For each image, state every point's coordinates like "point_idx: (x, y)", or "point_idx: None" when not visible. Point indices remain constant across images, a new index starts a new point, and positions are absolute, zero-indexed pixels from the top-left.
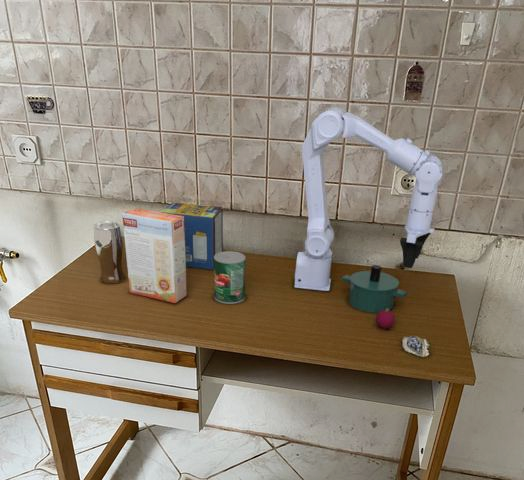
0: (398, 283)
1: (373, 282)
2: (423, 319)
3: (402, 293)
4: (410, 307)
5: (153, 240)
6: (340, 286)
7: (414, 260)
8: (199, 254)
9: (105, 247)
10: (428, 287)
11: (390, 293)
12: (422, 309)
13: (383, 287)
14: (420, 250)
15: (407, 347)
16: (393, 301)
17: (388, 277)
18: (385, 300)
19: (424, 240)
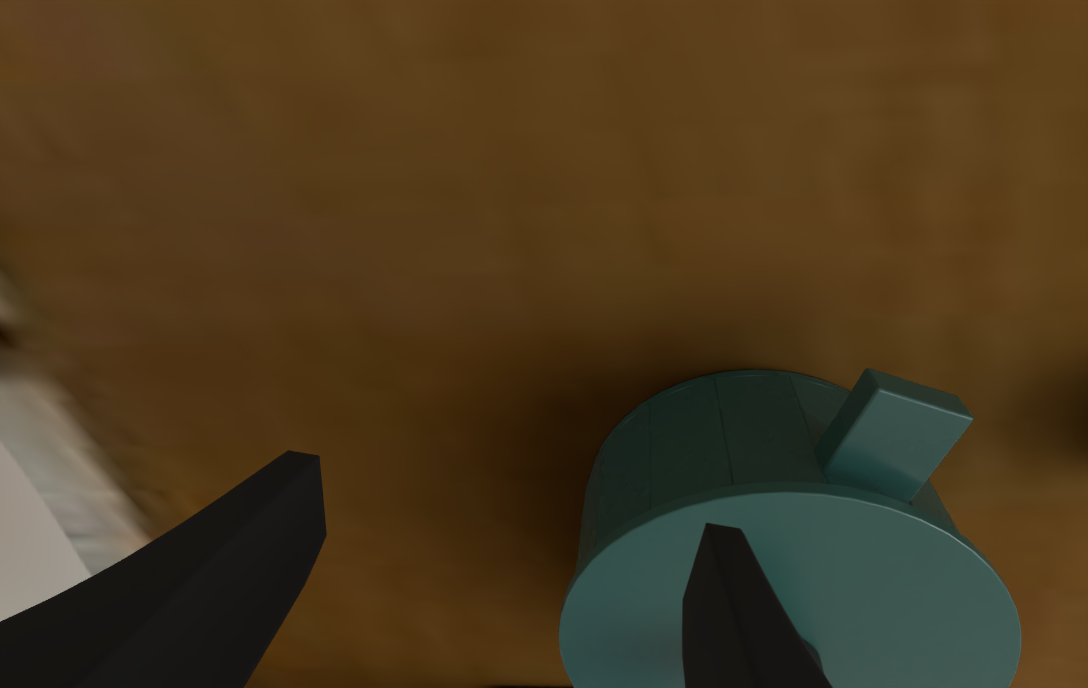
0: (798, 496)
1: (834, 666)
2: (987, 114)
3: (940, 426)
4: (739, 240)
5: None
6: (547, 646)
7: (792, 628)
8: None
9: None
10: (225, 105)
11: (928, 510)
12: (753, 135)
13: (947, 608)
14: (244, 533)
15: None
16: (819, 408)
17: (665, 569)
18: (937, 495)
19: (97, 685)
